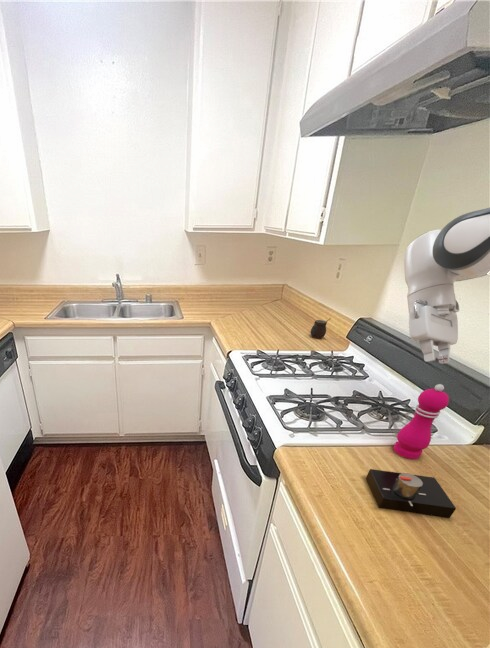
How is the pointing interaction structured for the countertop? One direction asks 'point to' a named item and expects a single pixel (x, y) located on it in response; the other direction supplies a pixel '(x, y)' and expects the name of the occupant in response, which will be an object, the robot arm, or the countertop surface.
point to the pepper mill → (421, 423)
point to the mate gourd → (319, 329)
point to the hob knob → (407, 485)
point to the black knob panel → (425, 502)
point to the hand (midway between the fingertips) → (437, 362)
